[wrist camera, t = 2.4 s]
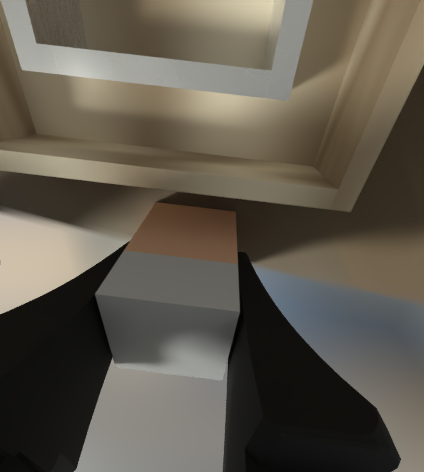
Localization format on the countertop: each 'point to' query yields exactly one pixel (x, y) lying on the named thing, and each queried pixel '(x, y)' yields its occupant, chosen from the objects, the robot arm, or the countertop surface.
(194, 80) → the frame
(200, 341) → the tan-topped block
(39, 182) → the countertop surface
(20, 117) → the walled box
